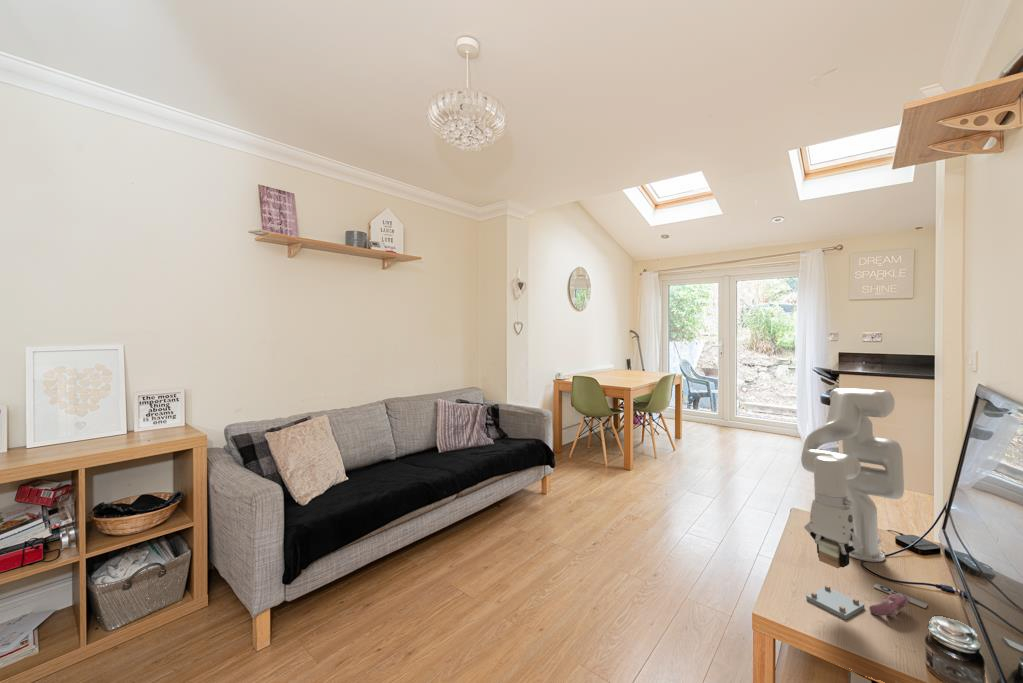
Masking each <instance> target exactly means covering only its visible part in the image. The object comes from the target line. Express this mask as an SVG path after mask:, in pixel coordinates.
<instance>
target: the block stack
mask: <svg viewBox="0 0 1023 683" xmlns="http://www.w3.org/2000/svg"><path fill="white" fill-rule="evenodd" d="M818 541H819V558H818V559H819V560H818V561H819V562H821V563H824V564H827V565H829V566H831V567H833V568H836V569H840V568H841V567H840V559H839V553H841V549H840V546H839V543H838V542H837V541H834V540H831V539H828V538H826V537H825V538H823V539H821V540H818Z"/></svg>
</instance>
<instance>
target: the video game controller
mask: <svg viewBox="0 0 1023 683" xmlns="http://www.w3.org/2000/svg"><path fill="white" fill-rule="evenodd" d="M909 602H910V599H909V598H907V597H906V596H905V595H903V594H901V593H900V592H899V593H892V594H891V593H890V594H889V595H888V596H886V597H885V598H884V600H883V601H882V602H880V603H877V604H872V605H870V606H869V609H868V610H869V612H870V613H871V614H873V615H875V616H879V617H882V616H887V617H889V618H890V617H892V616H893V615H898V614H900V613H901V609H903V608H904V607H906V606H907V605H908V603H909Z"/></svg>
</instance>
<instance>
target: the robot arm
mask: <svg viewBox="0 0 1023 683" xmlns="http://www.w3.org/2000/svg"><path fill="white" fill-rule="evenodd" d="M829 401H830V404H829V408H828V413H827V418H826V423H824V424H822V425H820V426H819V427H817V428H815V429H814V430H813V431H811V432H810V433H809V434H808V436H806V438H805V441H804V443H803V448H802V452H801V461H800V462H801V466H802V467H803V469H804V470H805V471H807V472H810V473H813V479H814V499H812V502H811V507H810V513H809V522H808V523H806V524H805V525H804V526H803V528H804V530H805V531H806V532H807V533H808V534H809V535H810V536H811V538H812V539H813V540H814V543H815V544H816V553H817V555H818V557H817V558H818V559H819V541H818V540H821V539H823V538H828V539H831V540H834V541H837V542H838V543H839V546H840V549H841V553H839V559H840V568H842V569H843V568H845V567H848V566H849V564H850V557H851V558H853V559H856V560H857V559H858V560H860V561H863V562H864V561H866V562H871V563H880V562H883V561H884V560H885V559H886V556H885V553H884V552H883V551H881V550H880V548H879V545H880V544H881V543H882V540H881V539H880V538H879V531H878V530H879V528H878V527H879V526H878V508H877V505H876V504H875V501H873V499H872V498H871V497H870V496H874V497H879V498H885V499H891V500H899V499H901V498H903V497H904V492H905V483H904V482H905V480H904V478H905V477H904V457H903V450H902V449H903V448H902V447H901V445H900V443H899V442H897V440H894V439H891V438H884V437H875V436H874V435H873V422H872V421H871V419H870V417H871V418H882V419H883V418H886V417H888V416H889V415H892V412H893V411H894V409H895V405H896V404H895V398H894V396H893V394H892V392H891V391H889V390H886V389H871V388H869V389H868V388H851V387H850V388H849V387H846V388H845V387H843V388H842V387H840V388H835V389H832V390H831V391H830V392H829ZM839 441H841V443H842V452H839V451H838V452H837V451H832V450H825V449H819V447H821V446H823V445H826V444H829V443H834V442H839ZM861 463H864V464H871V465H875V466H882V467H883V468H884V469H882V468H878V467H877V468H876V467H870V466H867V465H866V466H865V465H861Z"/></svg>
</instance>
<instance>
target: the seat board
mask: <svg viewBox="0 0 1023 683" xmlns="http://www.w3.org/2000/svg"><path fill="white" fill-rule="evenodd" d="M805 597H806V600H807V601H808V602H810V603H813V604H814V605H816V606H818V607H821V608H822V609H824V610H825V611H828V612H830V613H832V614H834V615H836V616H837V617H839V618H842V619H844V620H847V619H849V618H851V617H853V616H854V615H856V614H858V613H860V612H861V611H863V610H865V609H866V608H865V603H862V602H861V601H860V599H857V598H855V597H854V598H852V597H850V596H848V595H845V594H843V593H841V592H839V591H837V590H834V589H832V588H831V586H829V585H824V586H823V587H820V588H819V589H816V590H815V591H812V592H810V593H808V594H807V595H806V596H805Z"/></svg>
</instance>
